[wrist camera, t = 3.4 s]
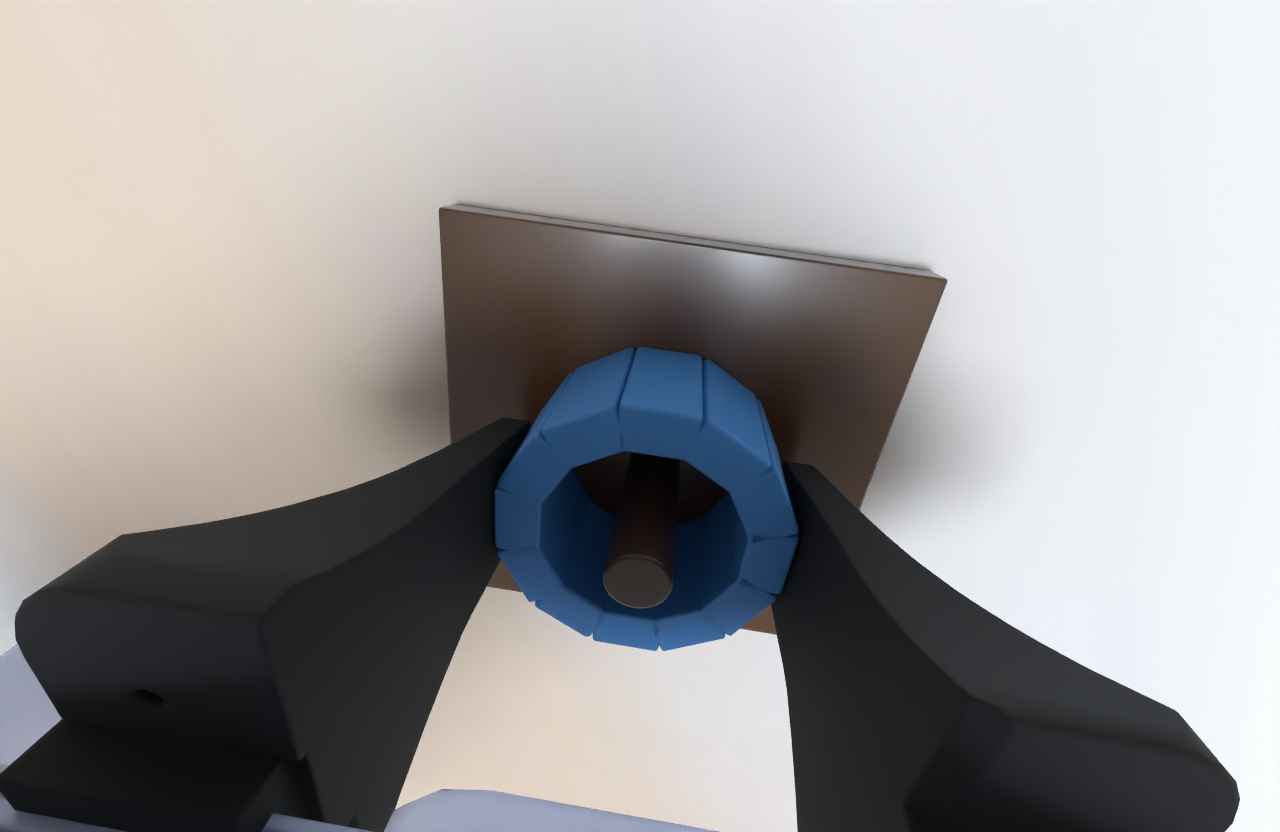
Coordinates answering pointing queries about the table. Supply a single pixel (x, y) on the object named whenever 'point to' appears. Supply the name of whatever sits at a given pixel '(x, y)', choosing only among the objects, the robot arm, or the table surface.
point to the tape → (704, 548)
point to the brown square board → (682, 322)
